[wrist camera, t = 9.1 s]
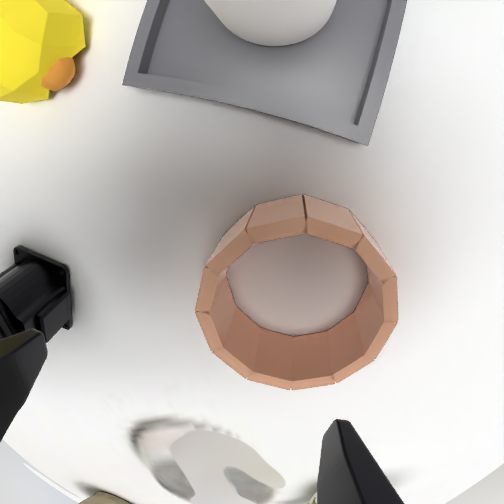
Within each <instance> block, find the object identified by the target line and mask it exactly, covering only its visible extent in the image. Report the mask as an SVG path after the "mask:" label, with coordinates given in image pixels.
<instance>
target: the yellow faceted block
mask: <svg viewBox="0 0 504 504" xmlns="http://www.w3.org/2000/svg"><path fill="white" fill-rule="evenodd" d="M85 47H86V46H85V36H84V25H83V15H82V14H81V13H80V12H79V11H77V10H76V9H75V8H74V7H73V6H72V5H70V4H69V3H68V2H67V1H66V0H0V101H7V102H14V103H21V104H23V103H28V102H34V101H41V100H48V97H49V90H51V91H58V90H61V89H62V88H64V87H65V86H66V85H68V84H69V83H70V81H71V80H72V79H73V77H74V76H75V71H76V68H75V64H74V59H73V58H72V57H73V56H75V55H76V54H77V53H78V52H80V51H81V50H82V49H83V48H85Z"/></svg>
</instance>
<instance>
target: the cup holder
mask: <svg viewBox="0 0 504 504" xmlns="http://www.w3.org/2000/svg"><path fill="white" fill-rule="evenodd" d="M300 234H309V235H312V236H315V237H318V238H321V239H324V240H328V241H331V242H334V243H337V244H340V245H343V246H346V247H350V248H353V249H354V250H355V251H356V252H357V253H358V255H359V256H360V257H361V258H362V259H363V260H364V262H365V263H366V264H367V273H368V284H367V286H366V288H365V290H364V293H363V295H362V297H361V299H360V301H359V303H358V305H357V307H356V309H355V311H354V312H353V313H352V314H350V315H349V316H348V317H346V318H345V319H343V320H342V321H341V322H339V323H338V324H336V325H335V326H333V327H332V328H331V329H329V330H328V331H325V332H319V333H314V334H308V335H301V336H295V337H292V336H288V335H285V334H281V333H277V332H274V331H270V330H266V329H263V328H260V327H259V326H258V325H257V324H256V323H255V322H253V321H252V320H251V319H250V318H249V317H248V316H247V315H246V314H244V313H243V312H242V311H241V310H240V309H239V308H238V307H237V306H236V304H235V301H234V298H233V295H232V292H231V289H230V286H229V283H228V280H227V277H226V273H227V269H228V266H229V265H231V264H232V263H233V262H234V261H235V260H236V259H237V258H238V257H240V256H241V255H242V254H243V253H244V252H245V251H246V250H247V249H249V248H250V247H251V246H252V245H253V244H255V243H260V242H265V241H270V240H275V239H280V238H285V237H290V236H295V235H300ZM195 311H196V312H195V313H196V316H197V318H198V321H199V323H200V326H201V328H202V331H203V333H204V335H205V338H206V340H207V343H208V345H209V347H210V350H211V351H213V352H212V353H214V354H215V355H216V356H217V357H219V358H220V359H221V360H222V361H224V362H225V363H226V364H227V365H229V366H230V367H231V368H232V369H234V370H235V371H236V372H237V373H239V374H240V375H241V376H243V377H244V378H245V379H246V378H247V377H248V379H247V380H251V381H255V382H259V383H262V384H266V385H270V386H274V387H279V388H283V389H287V390H290V388H291V390H297V389H305V388H312V387H319V386H325V385H331V384H335V382H336V383H338V382H340V381H342V380H343V379H345V378H347V377H348V376H350V375H352V374H353V373H355V372H357V371H358V370H360V369H361V368H363V367H365V366H366V365H368V364H369V363H371V362H372V361H374V359H376V358H377V356H378V354H379V353H380V351H381V350H382V348H383V346H384V345H385V343H386V341H387V340H388V338H389V336H390V335H391V333H392V331H393V330H394V328H395V326H396V324H397V323H398V322H397V321H398V296H397V277H396V274H395V273H394V271H393V269H392V268H391V266H390V264H389V263H388V261H387V259H386V258H385V256H384V254H383V253H382V251H381V250H380V248H379V246H378V245H377V243H376V242H375V240H374V239H373V238H372V237H371V236H370V234H369V233H368V232H367V231H366V229H365V228H364V227H363V226H362V225H361V223H360V222H359V221H358V220H357V219H356V217H355V216H354V215H353V214H352V213H351V211H350V210H349V211H348V209H347V208H344V207H341V206H338V205H335V204H332V203H329V202H326V201H323V200H320V199H317V198H314V197H310V196H307V195H304V197H302V194H301V195H297V196H292V197H287V198H283V199H278V200H273V201H269V202H264V203H260V204H257V205H256V206H253V207H252V208H251V209H250V210H249V211H248V212H247V213H246V214H245V215H244V216H243V217H242V218H241V219H240V220H239V221H237V222H236V223H235V224H234V225H233V226H232V227H231V228H230V229H229V230H228V231H227V232H226V233H225V234H224V235H223V237H222V238H221V240H220V242H219V243H218V245H217V247H216V248H215V250H214V252H213V253H212V255H211V257H210V259H209V260H208V262H207V264H206V265H205V267H204V271H203V276H202V280H201V285H200V289H199V294H198V299H197V303H196V308H195Z"/></svg>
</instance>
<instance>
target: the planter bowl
mask: <svg viewBox="0 0 504 504" xmlns="http://www.w3.org/2000/svg"><path fill="white" fill-rule="evenodd" d="M79 504H130V503H128V502H126V501H125V500H123V499H120V498H118V497H116V496H114V495H111V494H108V493H105V492H97V493H96V494H95V495H94V496H92V497H89V498H87V499H85V500H83V501H82V502H80V503H79Z"/></svg>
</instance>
